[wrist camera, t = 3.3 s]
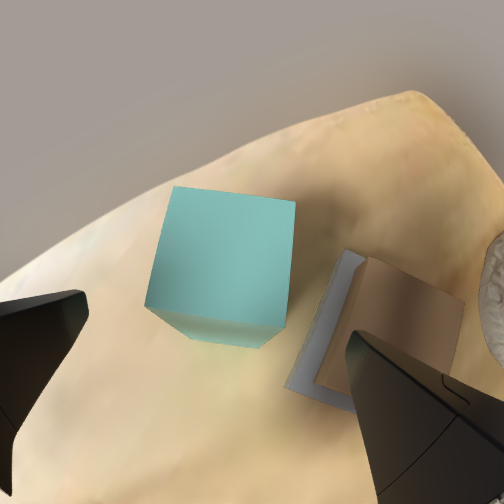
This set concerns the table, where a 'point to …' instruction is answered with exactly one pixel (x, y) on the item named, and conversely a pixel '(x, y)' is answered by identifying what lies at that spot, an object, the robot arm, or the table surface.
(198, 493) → the table surface
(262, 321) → the teal block
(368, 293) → the walnut slab
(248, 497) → the table surface
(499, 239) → the grey jagged round piece
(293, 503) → the table surface
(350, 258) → the slate slab
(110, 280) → the table surface
